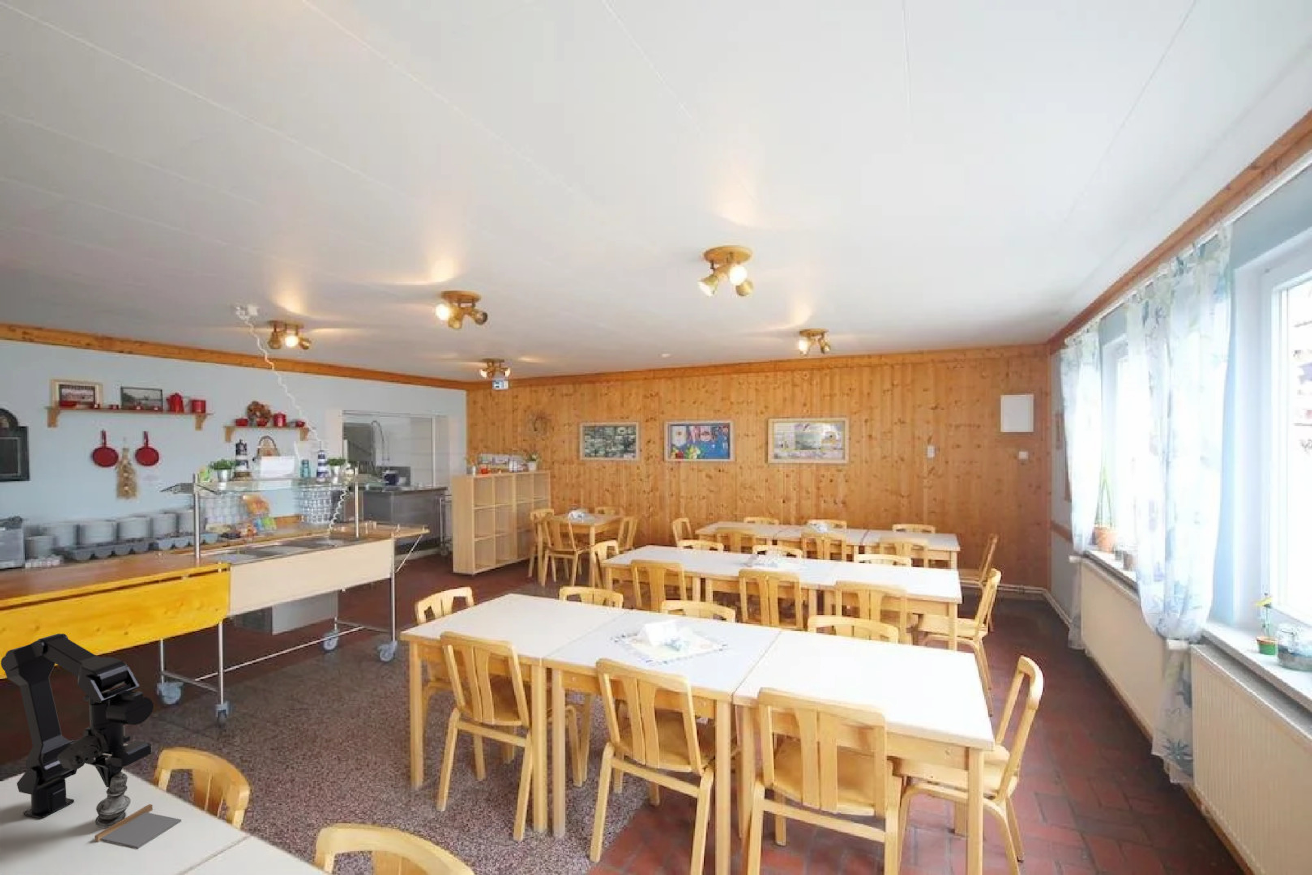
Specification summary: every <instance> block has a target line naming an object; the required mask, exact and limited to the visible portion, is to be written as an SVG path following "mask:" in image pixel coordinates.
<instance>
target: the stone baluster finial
mask: <svg viewBox="0 0 1312 875" xmlns="http://www.w3.org/2000/svg"><path fill="white" fill-rule="evenodd" d="M127 782H128V774H126V773H123V771H121V772H120V773H119V774H116V775H115V776H113V777H112V779H111V783H110V787H109V788H108V787H107V790H106V791H105V792H106V793H105V794H106V797H105V798H104V799H102V800H100V802H99V803H97V805H96V808H95V810H96V812H97V814H98V815H97V817H96V818H95V820H94V824H95V826H97V827H98V828H105V829H107V828H109V827H110V826H112V825H114V824H116V823H117V822H119V821H121V820H123V819H124V818H126V817H127V813H126V810H127V809H128V807H130V805H131V798H130V796H128V795H126V794H125V793H126V791H127V790H128V785H127Z"/></svg>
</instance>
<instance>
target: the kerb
mask: <svg viewBox="0 0 1312 875" xmlns="http://www.w3.org/2000/svg"><path fill="white" fill-rule="evenodd" d="M153 808H154V807H153V804H151V803H149V804H147V805H145V806H144V807H142V808H140V809H139V810H137V811H135V812H133V813H131V814H130V815H127V816H126V817H125V818H124V819H123V820H121V821H119V822H117V823H116V824H114V825H112V826H110V827H106V828H105V829H103V830H102V831H100V832H97V834H95V835H94V841H95V842H98V843H99V842H101V841H102V840H101V838H102V837H104V836H106V835H107V834H109V833H111V832H113V831H114V830H116V829H118V828H119V827H121V826H123V825H125V824H126V823H128V822H130V821H131V820H133V819H135V818H137V817H138V816H140V815H142V814H143V813H145V812H147V813H151V812H152V811H153Z"/></svg>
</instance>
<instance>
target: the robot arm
mask: <svg viewBox="0 0 1312 875" xmlns="http://www.w3.org/2000/svg"><path fill="white" fill-rule="evenodd" d="M0 665H1V669H2V670H3V671H4V673H5V676H6V678H7V679H8V680H9V681H10V682H11V683H14V684H15V685H17V686H19V690H20V694H21V697H22V698H21V699H22V702H23V706H24V707H23V708H24V711H25V712H24V713H25V716H26V721H27V726H28V729H29V734H30V738H31V743H32V747H31V749H30V752H29V753H28V755H27V758H26V760H25V766H26V770H25V772H24V773H23V775H22V776H21V777H20V778H19V779H18V781H17V782H16V786H17V790H18V793H22V794H25V795H26V794H27V795H30V807H31V808H29V809H26V810H25V811H23V813H22V815H23V816H28V817H32V818H36V819H44V818H45V817H48V816H50V815H51V814H52V815H53V813H56V812H58V811H59V810H61V809H63V808H65V807H67V806H69V805H72V803H74V802H75V799H73V798H69V797H67V786H66V785H67V784H66V779H67V778H69V777H71V776H75V775H76V774H77V771H78V770H79V769H81V768H82V767H83V766H84V765H85V764H86V765H90V766H92V767H95V769H96V771H97V772H98V774H99V776H100V778H101V779H102V781H103V784H104V785H105V787H106V788H107V789H108V788H109V787H110V783H111V779H112V777H113V776H115V775H116V774H119V773H120V772H122V770H123V768H124V767H127V766H129V765H131V764H134V763H135V762H138V761H139V760H142V759H143V758H146V757H147V756H150V755H151V754H152V753H153V744H152V743H150V742H147V741H140V740H135V741H133V742H131V743H127V742H129V741H131V736H130V735H127V734H126V730H125V725H131V726H136V725H140V724H142V723H144V722H146V720H148V718H149V717H150V716H151V714H152V713H153V711H154V702H153V700H152V699H151V698H149V697H147V696H144V692H143V691H140V690H139V691H135V690H137V689H139V688H140V684H139V683H138V678H137V676H135V674H134V673H133V672H132V670H131V668H130V667H129V665H128V664H127V663H126V662H125V661H123V660H121V659H118V658H115V657H113V656H112V657H111V656H107V657H106V656H99V655H96V654H94V653H92V652H91V651H89V650H87V649H86V648H84V647H83V646H81V645H79V644H78V643H75V642H74V641H72V640H71V639H69V637H68V636H67V634H65V633H55V634H51V635H49V636H44V637H41V638H38V639H37V640H35V641H33V642H32V643H29V644H26V645H23V646H20V647H16V648H12V649H9V650H7V651H6V653H5V655H4V656H3V657H2V658H1V660H0ZM55 665H57V666H59V667H60V668H63V670H66V671H67V672H69V673H71V674H72V675H74V676H75V677H76V678H77V686H78V687H79V688H80V689H81V690H82V691H83V692H84V693H85V694H86V695H85V696H83V702H84V701H86V702H88V707H89V726H88V727H86V728H84V731H83V737H81V738H79V739H77V740H74V739H72V740H69V739H67V738H66V737H65V736H63V734H62V729H61V725H60V721H59V717H58V712H57V708H56V703H55V700H54V699H55V698H54V694H53V690H52V685H51V682H50V676H51V674H52V672H53V670H54V668H55Z"/></svg>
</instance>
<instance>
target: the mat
mask: <svg viewBox="0 0 1312 875" xmlns="http://www.w3.org/2000/svg"><path fill="white" fill-rule="evenodd" d="M181 822H182V819H180V818H176V817H171V816H166V815H162V814H156V813H151V812H148V813H147V812H145V813H143V814H142V815H140V816H138V817H137V818H135V819H133V820H131V821H130V822H128V823H126V824H125V825H123V826H121V827H119V828H118V829H116V830H114V831H113V832H111V833H109V834H107V835H106V836H104V837H102V838H101V840H100V841H102V842H107V843H112V844H117V845H121V846H125V847H130V848H134V849H140V848H141V847H143V846H144V845H146V844H147V843H149V842H151V841H152V840H154V839H155V838H158V837H159V836H160V835H162V834H164V833H165V832H167V831H168V830H170V829H171V828H173V827H174V826H176V825H178V824H179V823H181Z"/></svg>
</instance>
